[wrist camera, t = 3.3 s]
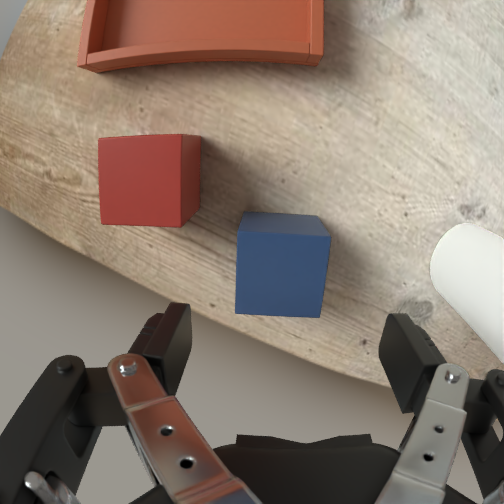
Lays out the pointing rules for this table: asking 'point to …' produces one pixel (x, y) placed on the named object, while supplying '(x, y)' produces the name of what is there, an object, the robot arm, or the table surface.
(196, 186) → the red block
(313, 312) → the blue block
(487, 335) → the can
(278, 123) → the table surface
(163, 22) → the orange tray
